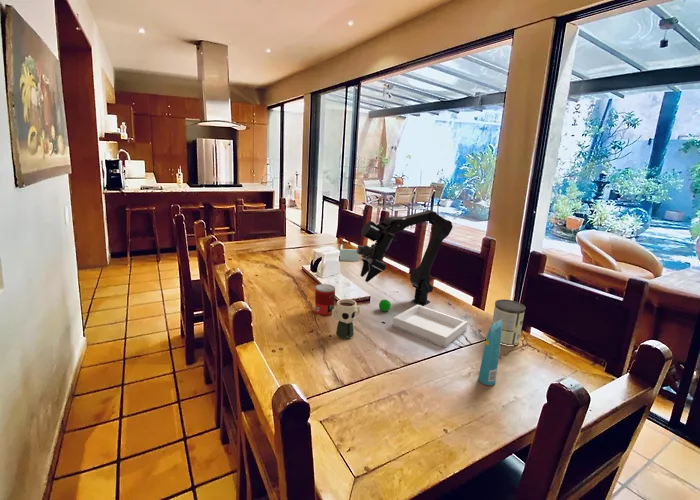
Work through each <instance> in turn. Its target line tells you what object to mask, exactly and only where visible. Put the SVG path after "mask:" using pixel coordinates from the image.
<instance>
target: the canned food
mask: <svg viewBox="0 0 700 500" xmlns="http://www.w3.org/2000/svg"><path fill="white" fill-rule="evenodd" d="M335 296H336V286H334V285H332V284H328V283H320V284H317V285H316V286H315V296H314V298H315V299H314V313H315V314H317V315H318V316H322V317H329V316H332V309H335V301H336V299H335V298H336V297H335Z"/></svg>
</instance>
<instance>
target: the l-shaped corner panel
mask: <svg viewBox="0 0 700 500" xmlns="http://www.w3.org/2000/svg"><path fill="white" fill-rule="evenodd" d="M343 247H344V245H343V244H340V250H339V251H340V252H339V261H344V262H345V261H346V262H360V258H361V257H360V256H361V255H360V254H358V253H357V249H348V248H343Z"/></svg>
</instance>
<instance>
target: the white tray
mask: <svg viewBox="0 0 700 500" xmlns="http://www.w3.org/2000/svg"><path fill="white" fill-rule="evenodd" d="M392 319H393V320H392V327H393V328H395V329H397V330H400V331H403V332H405V333H407V334H410V335H411V336H414V337H418V338H420V339H423V340H424V341H427V342H429V343H432V344H434V345H438V346H440V347H442V348H444V349H445V348H447V347H448V346H449V345H451V344H452V343H453V342H454V341H456V340H457V339H458V338H459V337H461V336H462V335H463V334H465V333H466V332H467V327H468V321H467V320H464V319H462V318H458V317H455V316H452V315H449V314H445V313H443V312H441V311H437V310H435V309H433V308H429V307H427V306H425V305H424V306H422V305H419V304H416V305H413V306H412V307H410V308H408V309H407V310H404V311H402V312H401V313H399V314H397V315H395V316H394V317H393V318H392ZM465 331H466V332H465ZM460 335H461V336H460Z"/></svg>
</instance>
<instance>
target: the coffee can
mask: <svg viewBox="0 0 700 500" xmlns="http://www.w3.org/2000/svg"><path fill="white" fill-rule="evenodd" d="M525 312H526V306H525V305H524V304H522V303H521V302H518V301H515V300H511V299H502V298H501V299H496V300H495V301H494V309H493V315H492V322H491V325H493V324H494V323H496V322H497V321H499V320H502V332H501V342H500V343H502V344H506V345H515V344H518V343H519V344H520V338H521V334H522V333H521V332H522V327H523V322H524V317H525ZM519 344H518V345H519Z"/></svg>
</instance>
